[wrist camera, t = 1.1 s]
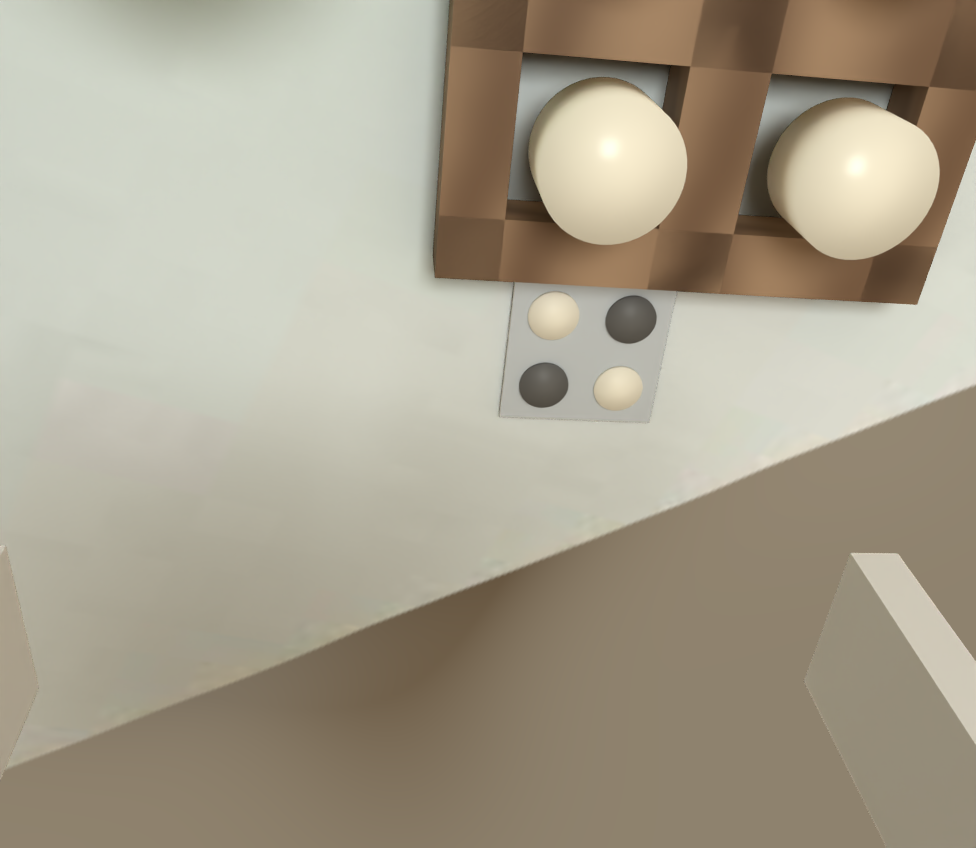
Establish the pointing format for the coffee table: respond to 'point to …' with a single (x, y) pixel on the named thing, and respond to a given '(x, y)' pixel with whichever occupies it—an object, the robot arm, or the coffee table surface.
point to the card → (584, 352)
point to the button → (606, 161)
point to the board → (697, 137)
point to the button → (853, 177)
